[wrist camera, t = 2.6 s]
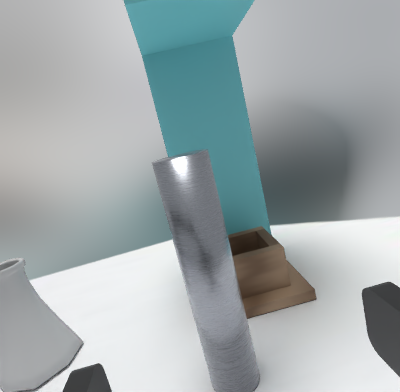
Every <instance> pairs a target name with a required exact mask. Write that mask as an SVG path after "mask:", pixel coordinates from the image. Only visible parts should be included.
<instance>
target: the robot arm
mask: <svg viewBox="0 0 400 392" xmlns="http://www.w3.org/2000/svg"><path fill="white" fill-rule="evenodd" d="M362 299H363V305H364V312H365V319H366V325H367V332H368V336H369V339H370V342H371V344H372V346H373V347H374V349H375V351H376V352H377V353H378V355H379V356H380V357H381V358H382V359H383V360H384V361H385V362H386V363H387V364H388V365H389V366H390V367H391V368H392V369H393V370H394V372H395V373H396V374H397V375H398V376H399V377H400V288H399V287H398V286H396V285H395V284H393V283H391V282H386V283H382V284H379V285H375V286H372V287H368V288H365V289H363V291H362ZM63 392H112V390H111V388H110V385H109V382H108V379H107V377H106V374H105V371H104V369H103V367H102V365H101V364H99V363H98V364H95V365H91V366H88V367H84V368H81V369H77V370H74V371H72V372H71V373H70V375H69V378H68V380H67V382H66V385H65V387H64V389H63Z"/></svg>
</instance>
